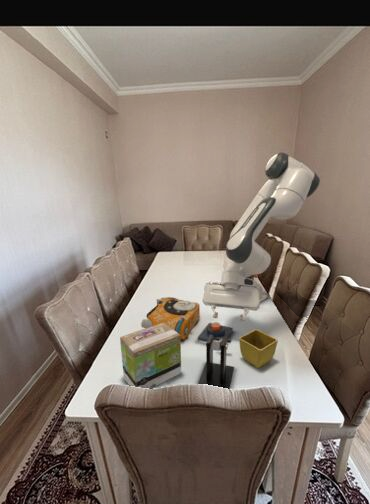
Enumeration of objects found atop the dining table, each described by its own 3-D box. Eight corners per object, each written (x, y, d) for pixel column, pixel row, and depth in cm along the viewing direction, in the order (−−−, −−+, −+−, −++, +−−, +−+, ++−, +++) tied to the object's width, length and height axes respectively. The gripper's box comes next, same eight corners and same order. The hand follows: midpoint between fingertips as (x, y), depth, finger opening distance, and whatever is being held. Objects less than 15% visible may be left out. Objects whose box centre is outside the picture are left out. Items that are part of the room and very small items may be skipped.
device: (129, 317, 97) (163, 290, 124) (131, 335, 100) (164, 305, 126) (183, 326, 89) (207, 295, 116) (184, 346, 92) (207, 311, 118)
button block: (209, 327, 104) (209, 318, 103) (232, 332, 100) (233, 323, 99) (197, 342, 94) (197, 332, 93) (223, 348, 90) (223, 339, 88)
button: (213, 325, 98) (213, 321, 98) (221, 327, 97) (221, 323, 96) (209, 330, 95) (209, 326, 95) (218, 332, 94) (218, 328, 93)
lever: (216, 342, 85) (216, 335, 85) (230, 344, 83) (231, 337, 83) (206, 348, 70) (207, 340, 71) (224, 351, 69) (225, 343, 69)
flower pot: (258, 375, 76) (260, 350, 73) (237, 361, 83) (238, 337, 80) (276, 364, 81) (278, 340, 78) (254, 351, 88) (256, 328, 85)
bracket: (206, 364, 82) (206, 327, 77) (234, 369, 79) (235, 331, 75) (196, 391, 71) (195, 349, 67) (228, 398, 68) (229, 355, 64)
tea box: (137, 399, 68) (133, 352, 64) (123, 378, 76) (118, 336, 72) (182, 375, 77) (181, 333, 72) (165, 359, 85) (163, 320, 80)
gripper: (204, 277, 94) (198, 312, 88) (261, 281, 88) (258, 319, 82) (206, 284, 99) (201, 318, 93) (260, 289, 93) (258, 325, 87)
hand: (228, 319), depth 87 cm, fingers open, 8 cm apart
